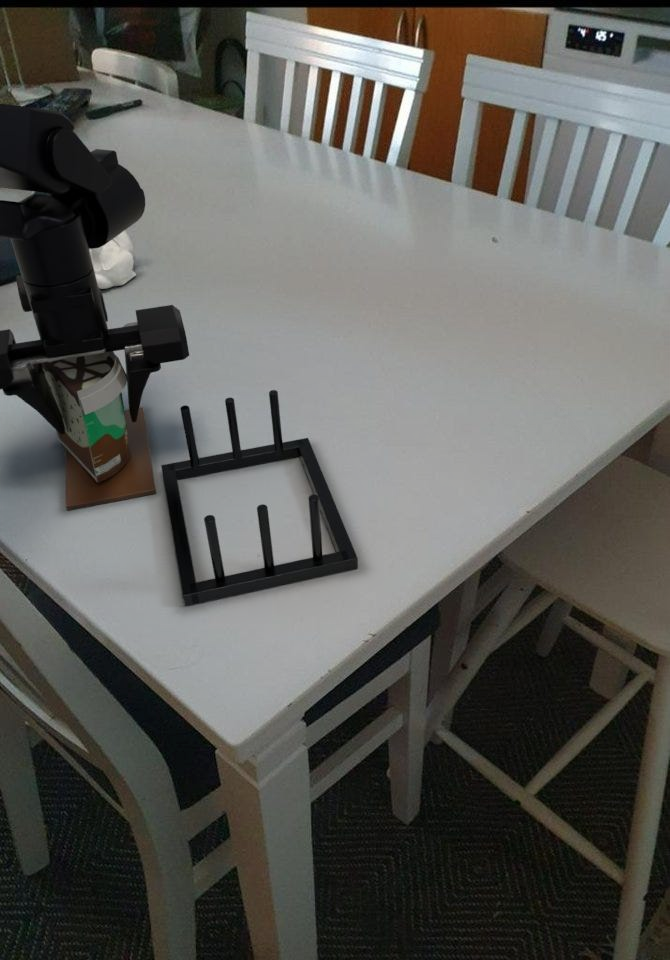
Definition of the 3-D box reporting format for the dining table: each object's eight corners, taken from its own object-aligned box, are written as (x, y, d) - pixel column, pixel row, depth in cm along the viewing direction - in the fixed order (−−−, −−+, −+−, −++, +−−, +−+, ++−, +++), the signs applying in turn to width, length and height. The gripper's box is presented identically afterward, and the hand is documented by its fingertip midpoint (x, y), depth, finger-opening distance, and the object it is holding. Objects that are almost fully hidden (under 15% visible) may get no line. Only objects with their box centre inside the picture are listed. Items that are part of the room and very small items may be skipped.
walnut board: (67, 510, 73) (65, 506, 73) (65, 424, 84) (64, 420, 83) (156, 493, 75) (155, 489, 74) (143, 410, 85) (142, 407, 85)
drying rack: (185, 606, 64) (169, 535, 59) (163, 474, 77) (148, 407, 72) (358, 568, 66) (356, 497, 61) (308, 447, 79) (304, 380, 74)
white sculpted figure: (116, 255, 116) (101, 187, 110) (165, 258, 114) (153, 190, 108) (77, 293, 107) (59, 222, 101) (130, 297, 105) (115, 225, 99)
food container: (165, 464, 76) (146, 370, 70) (104, 490, 73) (79, 394, 68) (109, 413, 84) (89, 325, 79) (53, 434, 82) (27, 344, 76)
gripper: (161, 220, 74) (187, 367, 84) (-52, 248, 71) (0, 397, 81) (175, 270, 66) (201, 426, 76) (-66, 305, 63) (-6, 463, 72)
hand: (99, 425), depth 76 cm, fingers closed on food container, 6 cm apart
